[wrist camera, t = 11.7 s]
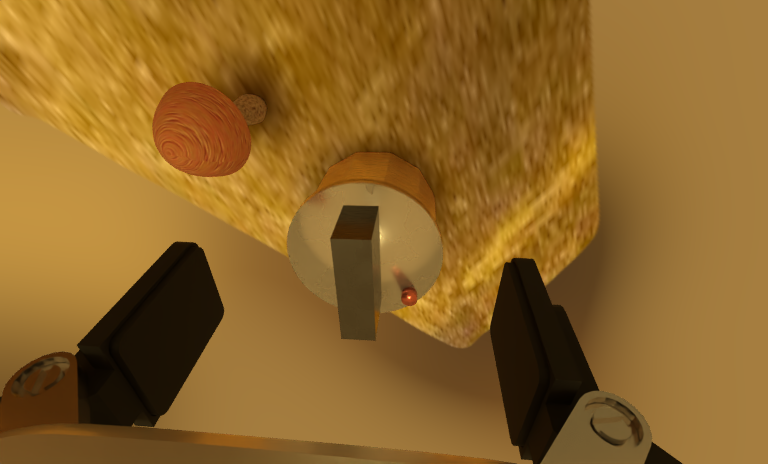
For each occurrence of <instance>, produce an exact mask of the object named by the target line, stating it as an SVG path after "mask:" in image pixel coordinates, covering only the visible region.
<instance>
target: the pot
mask: <svg viewBox="0 0 768 464" xmlns="http://www.w3.org/2000/svg"><path fill="white" fill-rule="evenodd" d="M348 179H373V180H378V181H383V182H386V183H389V184H392V185H395V186H397V187H399V188H401V189H404V190H405V191H407V192H408V193H410V194H412V195H413V196H414V197H416V198H417V199H418V200H419V201H420V202H422V203H423V205H424V206H425V207H426V208H427V209H428V210H429V212H430V213H431V214H432V216H433V217H434V219H435V221H436V211H435V196H434V194H433V192H432V190H431V189H430V187H429V185H428V183H427V182H426V180H425V178H424V176H423V175H422V173H421V171H420V169H418V168H417V167H415V166H413V165H411V164H410V163H408V162H406V161H404V160H403V159H401V158H399V157H397V156H396V155H394V154H392V153H389V152H356V153H354V154H352V155H351V156H349V157H347V158H345V159H344V160H342V161H340V162H338V163H336V164H335V165H333V166H331V167H330V168H329V169H328V171H327V173H326V175H325V176H324V178H323V180H322V182H321V183H320V185H319V187H318V189H317V190H319V189H321V188H322V187H325V186H327V185H329V184H331V183H335V182H338V181H342V180H348ZM317 190H316V191H317Z"/></svg>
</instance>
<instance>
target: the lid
mask: <svg viewBox="0 0 768 464" xmlns="http://www.w3.org/2000/svg"><path fill="white" fill-rule="evenodd" d="M287 249H288V255H289V259H290V262H291V264H292V267H293V269H294V271H295V272H296V274H297V276H298V277H299V279H300V280H301V281H302V283H303V284H304V285H305V286H306V287H307V288H308V289H309V290H310V291H311V292H313V293H314V294H315V295H316V296H318V297H319V298H321V299H323V300H324V301H326V302H328V303H330V304H332V305H334V306H336V307H338V312H339V321H340V330H341V339H356V340H373V341H375V340H376V336H377V329H378V321H379V314H380V313H384V312H390V311H395V310H398V309H401V308H404V307H406V306H412V305H414V304H416V302H417V300H418V299H420V298H421V297H422V296H424V295H425V294H426V293H427V292H428V291H429V290H430V288H431V287H432V286H433V284H434V283H435V281H436V279H437V277H438V275H439V273H440V270H441V266H442V260H443V247H442V239H441V234H440V231H439V228H438V225H437V223H436V221H435V219H434V217H433V216H432V214H431V213H430V212H429V210H428V209H427V208H426V207H425V206H424V205H423V203H422V202H420V201H419V200H418V199H417V198H416V197H414V196H413V195H412V194H410V193H408V192H407V191H405V190H404V189H401V188H399V187H397V186H395V185H392V184H389V183H386V182H383V181H378V180H373V179H348V180H342V181H338V182H335V183H331V184H329V185H327V186H325V187H322V188H321V189H319V190H317V191H316V192H314V193H313V194H312V195H311V196H309V197H308V198H307V199H306V200H305V201H304V203H303V204H302V205H301V206H300V208H299V209H298V211H297V213H296V215H295V216H294V218H293V220H292V222H291V224H290V227H289V231H288V236H287Z"/></svg>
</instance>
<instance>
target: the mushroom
mask: <svg viewBox="0 0 768 464" xmlns="http://www.w3.org/2000/svg"><path fill="white" fill-rule="evenodd" d="M266 109H267V107H266V104H265V101H263V99H262V98H260V97H259V96H256V95H252V94H244V95H241V96H240V97H239V98H237V99H236V100H235V101H233V102H232V101H231V100H230V99H229V98H228V97H227V96H225V95H224V94H223V93H221V92H220V91H218V90H216V89H215V88H213V87H210V86H208V85H205V84H201V83H197V82H186V83H181V84H178V85H175V86H173V87H172V88H170V89H169V90H168V91H167V92H166V93H165V95H164V96H163V98H162V99H161V101H160V103H159V105H158V107H157V109H156V111H155V114H154V119H153V137H154V142H155V145H156V147H157V149H158V151H159V153H160V154H161V156H162V157H163V158H164V159H165V160H166V161H167V162H168V163H169V164H170V165H172V166H173V167H175V168H176V169H178V170H180V171H183V172H185V173H188V174H191V175H195V176H202V177H217V176H226V175H230V174H232V173H235V172H237V171H238V170H239V169H241V168H242V167H243V165H244V164H245V163H246V161H247V159H248V157H249V154H250V150H251V137H250V131H249V128H248V125H252V124H257V123H260V122H262V121H263V120H264V117H265V115H266V113H267V111H266Z"/></svg>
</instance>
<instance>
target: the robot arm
mask: <svg viewBox="0 0 768 464" xmlns="http://www.w3.org/2000/svg"><path fill="white" fill-rule="evenodd" d="M223 315H224V307H223V304H222V301H221V298H220V296H219V293H218V290H217V287H216V284H215V281H214V279H213V276H212V273H211V270H210V267H209V265H208V262H207V259H206V256H205V253H204V251H203V249H202V248H200V247H198V245H197V244H196V243H193V242H175V243H173V244H172V245H171V246H170V247H169V248H168V249H167V250H166V251H165V252H164V253H163V254H162V255H161V257H160V258H159V259H158V260H157V261H156V262H155V263H154V264H153V265H152V266H151V267H150V268H149V269H148V270H147V271H146V272H145V273H144V275H143V276H142V277H141V278H140V279H139V280H138V281H137V282H136V283H135V284H134V285H133V286H132V287H131V288H130V289H129V290H128V292H127V293H126V294H125V295H124V296H123V297H122V298H121V299H120V300H119V301H118V302H117V303H116V304H115V305H114V306H113V307H112V308H111V310H110V311H109V312H108V313H107V314H106V315H105V316H104V317H103V318H102V319H101V320H100V321H99V322H98V323H97V324H96V326H94V327H93V329H92V330H91V331H90V332H89V333H88V334H87V335H86V336H85V337H84V338H83V339H82V340H81V341H80V343H78V344H77V346H78V348H79V349H80V350H79V351H78V352H77V353H76V355H75V356H74V355H73V354H72V353H69V352H54V353H51V354H47V355H44V356H41V357H39V358H37V359H35V360H33V361H31V362H29V363H28V364H26V365H25V366H23V367H22V368H20V370H18V371H17V372H16V373H15V374H14V375H12V377H11V378H10V379H9V380H8V382H7V383H6V384H5V387H4V389H3V392H2V396H1V397H0V464H515V463H508V462H502V461H496V460H490V459H483V458H474V457H465V456H456V455H447V454H438V453H429V452H419V451H408V450H397V449H386V448H376V447H364V446H354V445H344V444H332V443H322V442H311V441H298V440H288V439H277V438H265V437H253V436H242V435H231V434H230V435H229V434H218V433H206V432H194V431H182V430H170V429H157V428H146V427H131V426H132V425H133V423H134V424H135V425H137V426H148V427H154V426H155V424H156V422H157V421H158V419H159V417H160V416H161V415H164V414H165V413H166V412H167V411H168V409H169V408H170V406H171V405H172V403H173V401H174V399H175V398H176V396H177V394H178V393H179V391H180V389H181V388H182V386H183V384H184V382H185V381H186V379H187V377H188V376H189V374H190V372H191V371H192V369H193V367H194V366H195V364H196V362H197V360H198V359H199V357H200V355H201V353H202V352H203V350H204V349H205V346H206V345H207V343H208V342H209V340H210V338H211V337H212V335H213V333H214V332H215V330H216V328H217V327H218V325H219V323H220V321H221V320H222V318H223ZM490 333H491V340H492V345H493V350H494V355H495V361H496V366H497V371H498V376H499V381H500V387H501V392H502V397H503V403H504V408H505V413H506V418H507V424H508V429H509V434H510V439H511V443H512V444H513V445H514V446H519V451H520V456H521V459H524V460H532V461H533V464H682V463H681V462H680V461H678V460H676V459H675V458H674V457H672V456H671V455H670V454H668V453H667V452H666V451H664V450H663V449H661V448H660V447H659V446H657V445H656V444H654V443H653V442H652V434H651V430H650V427H649V425H648V423H647V421H646V420H645V418H644V416H643V415H642V414H641V413H640V412H639V411H638V410H637V409H636V408H635V407H634V406H633V405H632V404H630V403H629V402H628V401H626V400H625V399H623V398H621V397H619V396H617V395H615V394H613V393H609V392H604V391H599V389H598V386H597V384H596V382H595V379H594V377H593V375H592V372H591V370H590V368H589V365H588V363H587V361H586V358H585V356H584V354H583V351H582V349H581V347H580V344H579V342H578V340H577V337H576V335H575V333H574V330H573V328H572V326H571V324H570V321H569V319H568V316H567V314H566V312H565V310H564V308H563V307H562V306H561V305H552V303H551V301H550V299H549V296H548V293H547V291H546V288H545V286H544V283H543V281H542V278H541V276H540V273H539V271H538V268H537V266H536V263H535V261H534V260H533V259H526V258H513V259H512V260H511V263H508V262H506V263H505V265H504V269H503V273H502V277H501V282H500V286H499V290H498V295H497V299H496V303H495V308H494V312H493V316H492V321H491V326H490Z"/></svg>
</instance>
